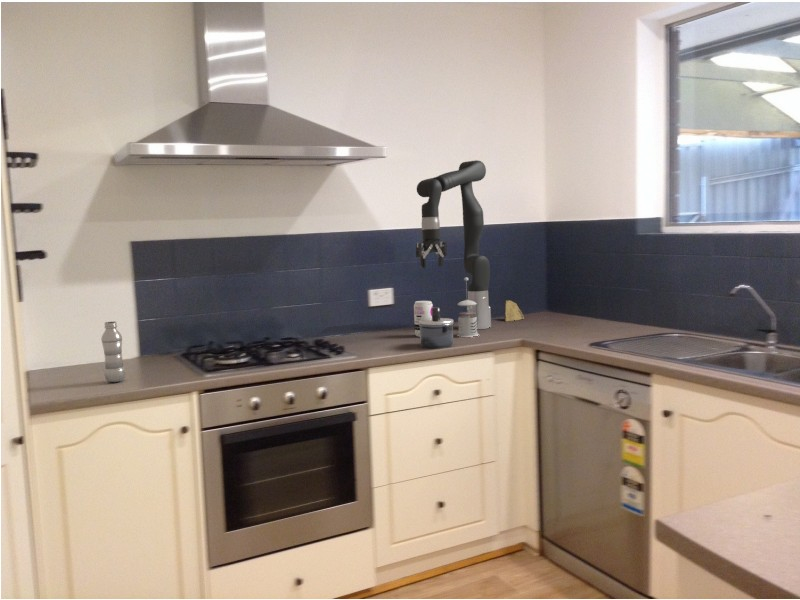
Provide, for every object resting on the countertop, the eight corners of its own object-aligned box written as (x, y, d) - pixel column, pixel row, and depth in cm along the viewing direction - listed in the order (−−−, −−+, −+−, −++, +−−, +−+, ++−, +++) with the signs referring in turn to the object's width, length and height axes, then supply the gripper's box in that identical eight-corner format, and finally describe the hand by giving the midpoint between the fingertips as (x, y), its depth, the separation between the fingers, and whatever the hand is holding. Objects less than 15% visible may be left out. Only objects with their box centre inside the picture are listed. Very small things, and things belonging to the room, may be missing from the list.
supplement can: (434, 334, 296) (433, 300, 295) (433, 337, 288) (432, 302, 286) (415, 334, 297) (414, 300, 295) (414, 337, 289) (413, 302, 287)
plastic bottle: (107, 385, 219) (102, 324, 217) (103, 381, 225) (97, 322, 223) (128, 381, 223) (123, 322, 221) (123, 378, 229) (118, 320, 227)
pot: (438, 340, 278) (437, 319, 277) (464, 346, 263) (463, 323, 262) (410, 344, 271) (409, 322, 270) (435, 350, 256) (434, 327, 255)
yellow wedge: (523, 313, 335) (503, 311, 336) (526, 301, 329) (505, 298, 330) (523, 328, 327) (503, 326, 328) (526, 316, 321) (505, 314, 322)
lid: (440, 319, 275) (440, 305, 275) (460, 322, 264) (460, 307, 263) (412, 323, 268) (412, 308, 268) (431, 326, 257) (431, 310, 256)
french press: (454, 337, 285) (452, 278, 282) (460, 333, 296) (458, 276, 293) (477, 337, 282) (475, 278, 279) (482, 333, 293) (480, 275, 290)
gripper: (439, 227, 288) (441, 265, 289) (411, 229, 280) (413, 268, 282) (449, 227, 281) (451, 266, 283) (421, 228, 274) (423, 268, 276)
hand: (432, 267), depth 283 cm, fingers open, 8 cm apart
